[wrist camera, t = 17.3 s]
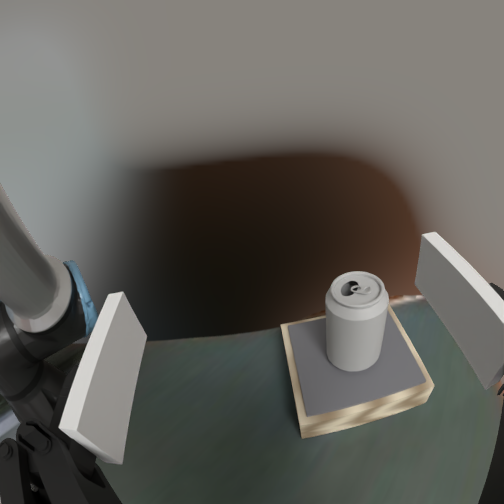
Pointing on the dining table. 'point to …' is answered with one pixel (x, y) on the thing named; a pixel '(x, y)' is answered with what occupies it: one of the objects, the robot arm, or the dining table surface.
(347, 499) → the dining table surface
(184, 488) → the dining table surface
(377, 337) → the can
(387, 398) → the dock
